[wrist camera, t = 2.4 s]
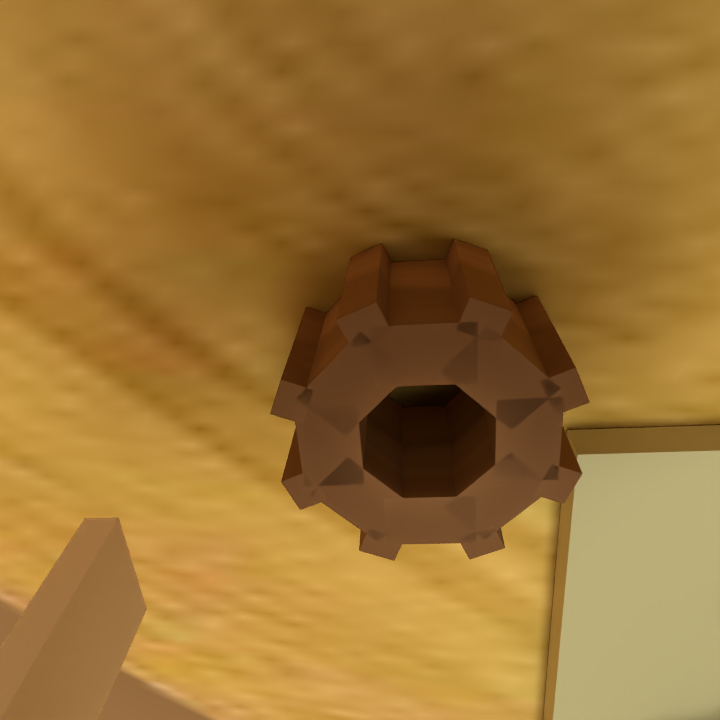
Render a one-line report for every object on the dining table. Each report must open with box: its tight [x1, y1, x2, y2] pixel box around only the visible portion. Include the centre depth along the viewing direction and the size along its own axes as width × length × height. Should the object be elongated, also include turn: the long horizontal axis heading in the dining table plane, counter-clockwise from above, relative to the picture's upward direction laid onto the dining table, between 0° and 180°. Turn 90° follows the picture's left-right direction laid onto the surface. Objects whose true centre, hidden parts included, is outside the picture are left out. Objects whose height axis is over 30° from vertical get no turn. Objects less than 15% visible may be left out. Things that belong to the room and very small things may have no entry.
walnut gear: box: [270, 239, 589, 560], centre depth 19 cm, size 8×8×5 cm
